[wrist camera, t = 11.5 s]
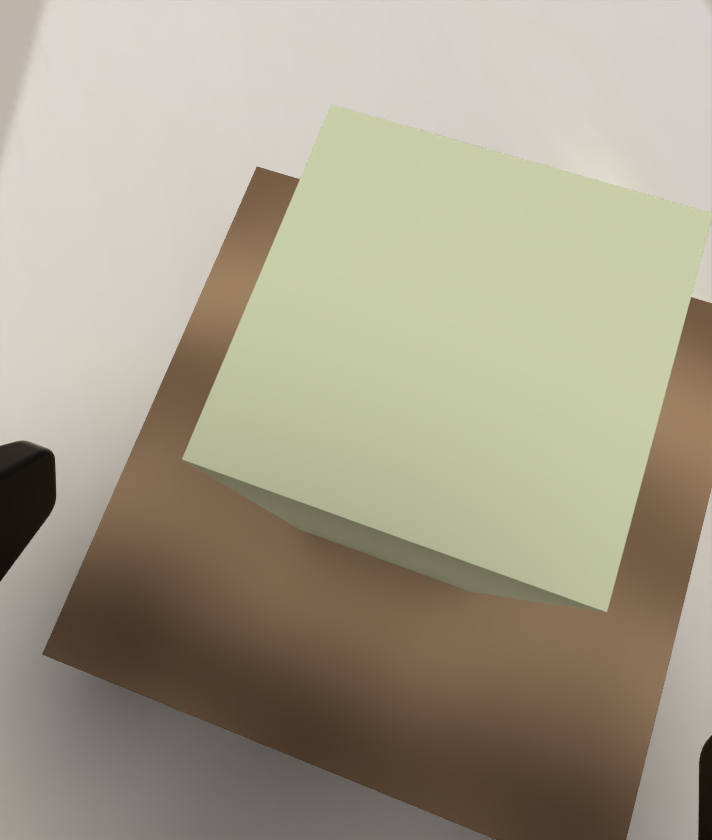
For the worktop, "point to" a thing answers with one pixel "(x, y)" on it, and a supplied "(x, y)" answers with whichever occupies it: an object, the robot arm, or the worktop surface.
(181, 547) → the base
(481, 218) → the block
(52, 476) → the robot arm
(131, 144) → the worktop surface
